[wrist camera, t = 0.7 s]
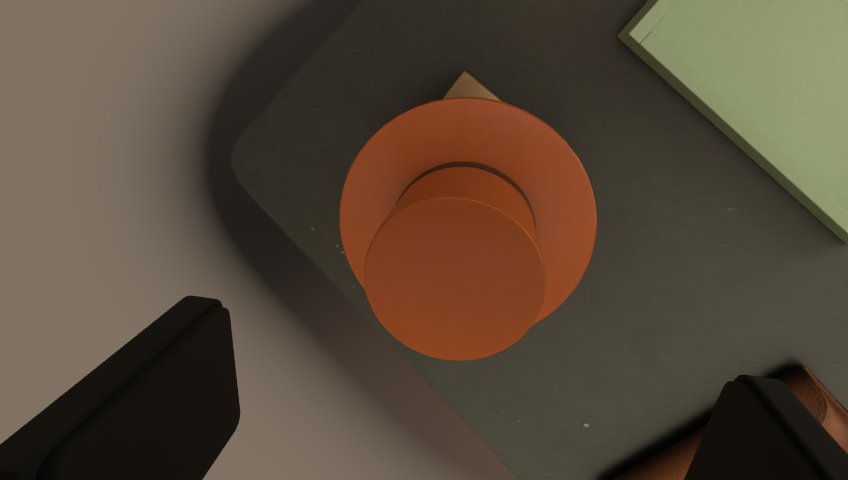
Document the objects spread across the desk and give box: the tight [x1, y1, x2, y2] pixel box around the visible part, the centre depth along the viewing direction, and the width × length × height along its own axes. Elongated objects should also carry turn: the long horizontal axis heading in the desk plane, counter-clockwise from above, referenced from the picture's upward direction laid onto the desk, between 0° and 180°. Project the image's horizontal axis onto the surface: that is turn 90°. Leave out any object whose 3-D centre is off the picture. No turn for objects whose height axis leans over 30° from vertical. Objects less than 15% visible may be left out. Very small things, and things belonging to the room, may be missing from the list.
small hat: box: [340, 97, 597, 361], centre depth 17 cm, size 11×11×6 cm
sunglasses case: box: [612, 365, 848, 480], centre depth 34 cm, size 18×7×7 cm
